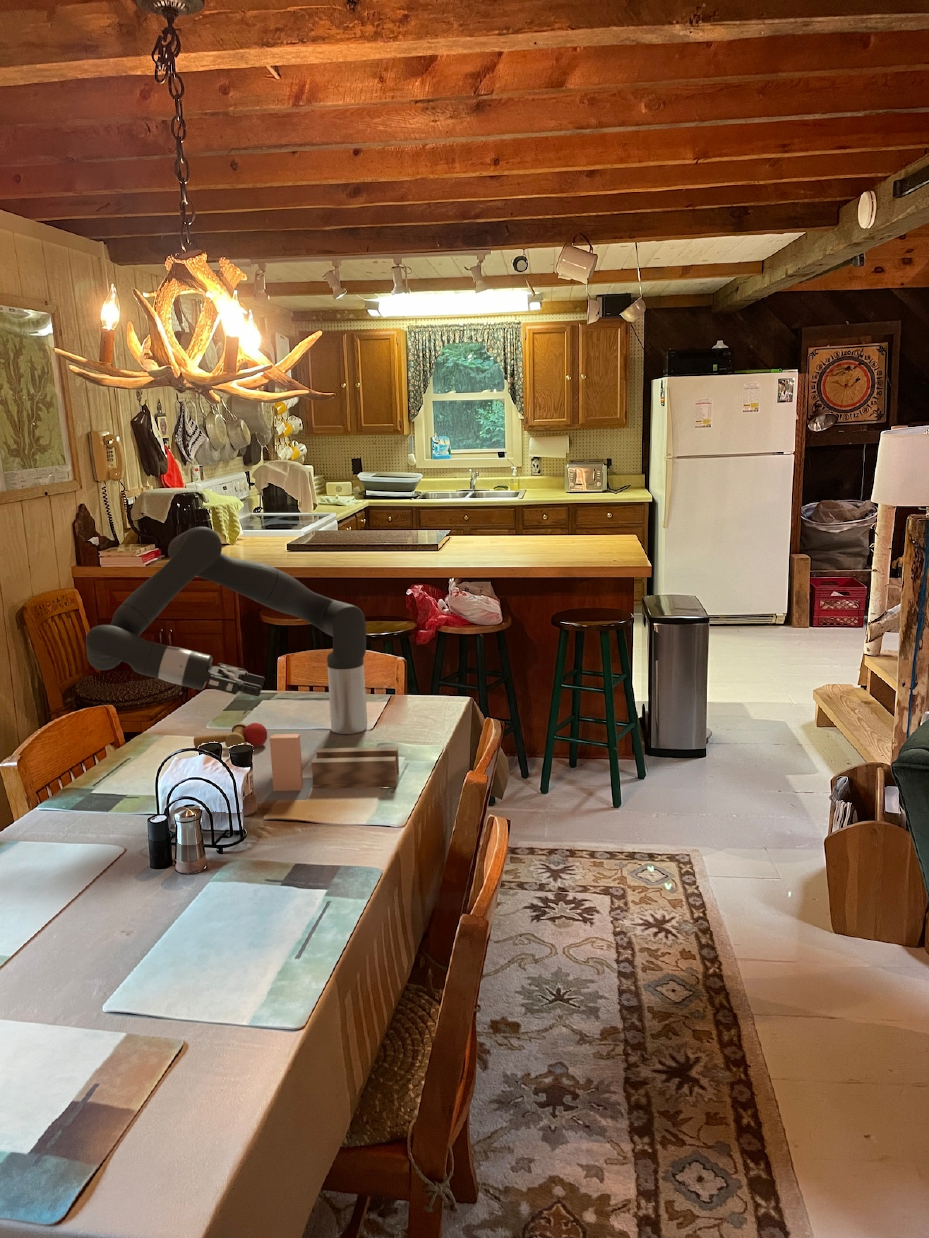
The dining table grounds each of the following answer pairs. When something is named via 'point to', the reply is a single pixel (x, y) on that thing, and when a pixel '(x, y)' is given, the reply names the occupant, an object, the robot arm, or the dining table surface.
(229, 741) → the kendama
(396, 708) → the dining table surface
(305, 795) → the mat
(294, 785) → the block
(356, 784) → the rack
